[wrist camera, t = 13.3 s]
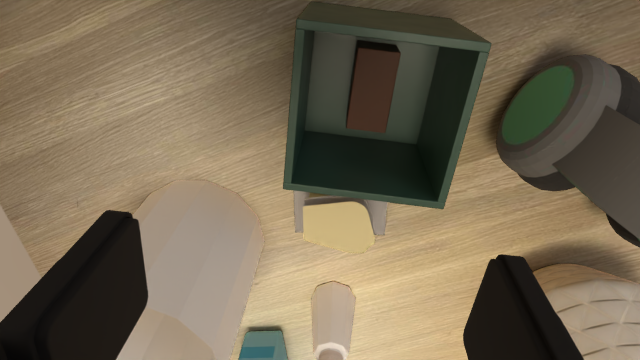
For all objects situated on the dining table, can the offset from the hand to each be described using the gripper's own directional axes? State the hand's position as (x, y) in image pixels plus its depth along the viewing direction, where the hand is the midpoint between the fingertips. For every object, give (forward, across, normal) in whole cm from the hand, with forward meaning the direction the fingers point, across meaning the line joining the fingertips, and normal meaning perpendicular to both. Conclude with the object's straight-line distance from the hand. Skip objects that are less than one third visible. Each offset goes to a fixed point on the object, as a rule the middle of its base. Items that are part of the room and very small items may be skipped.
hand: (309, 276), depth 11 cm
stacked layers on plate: (+31, -2, +16) cm, 34 cm away
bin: (+31, -3, +3) cm, 31 cm away
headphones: (+31, -25, +6) cm, 40 cm away
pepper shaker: (+30, -3, +30) cm, 43 cm away
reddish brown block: (+30, -3, +2) cm, 30 cm away
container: (+31, +13, +22) cm, 40 cm away
